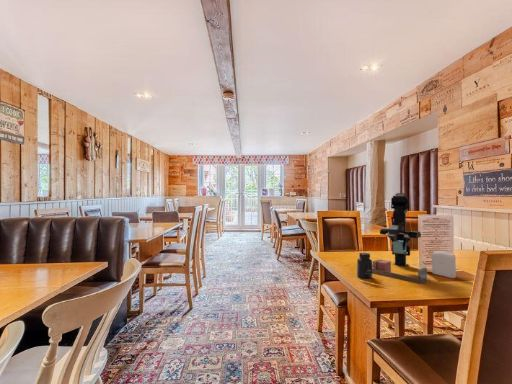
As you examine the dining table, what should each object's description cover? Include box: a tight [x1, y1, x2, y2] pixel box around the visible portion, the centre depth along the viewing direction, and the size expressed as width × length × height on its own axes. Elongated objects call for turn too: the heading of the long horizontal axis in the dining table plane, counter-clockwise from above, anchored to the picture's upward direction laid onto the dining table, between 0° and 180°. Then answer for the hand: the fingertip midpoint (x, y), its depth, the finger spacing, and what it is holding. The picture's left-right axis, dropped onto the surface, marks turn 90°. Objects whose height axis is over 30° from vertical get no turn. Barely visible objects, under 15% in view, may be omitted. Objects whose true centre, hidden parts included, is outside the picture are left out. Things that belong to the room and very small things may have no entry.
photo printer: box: [431, 250, 457, 279], centre depth 139 cm, size 10×4×12 cm, turn 26°
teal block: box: [392, 240, 407, 253], centre depth 147 cm, size 6×4×6 cm, turn 129°
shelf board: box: [372, 258, 424, 285], centre depth 138 cm, size 11×24×6 cm, turn 39°
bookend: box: [417, 267, 430, 284], centre depth 130 cm, size 7×2×5 cm, turn 129°
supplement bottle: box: [356, 252, 373, 280], centre depth 136 cm, size 7×7×12 cm
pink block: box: [377, 259, 392, 273], centre depth 144 cm, size 6×4×6 cm, turn 129°
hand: (399, 249), depth 147 cm, fingers closed on teal block, 4 cm apart
